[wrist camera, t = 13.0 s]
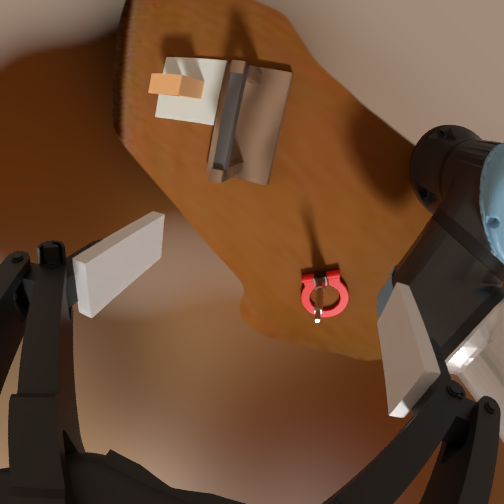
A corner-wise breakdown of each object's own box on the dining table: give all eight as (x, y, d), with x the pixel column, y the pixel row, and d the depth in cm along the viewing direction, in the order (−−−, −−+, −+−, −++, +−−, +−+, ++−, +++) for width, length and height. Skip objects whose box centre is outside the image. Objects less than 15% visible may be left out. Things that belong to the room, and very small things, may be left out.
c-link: (204, 81, 42) (182, 74, 35) (201, 99, 43) (178, 95, 36) (177, 79, 43) (151, 73, 36) (174, 96, 44) (148, 92, 37)
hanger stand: (293, 74, 39) (281, 57, 29) (268, 184, 47) (250, 200, 37) (230, 64, 41) (201, 48, 30) (209, 169, 48) (177, 182, 38)
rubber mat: (228, 61, 40) (226, 60, 40) (214, 125, 45) (213, 125, 45) (168, 57, 42) (166, 57, 41) (156, 116, 47) (155, 116, 46)
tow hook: (350, 310, 53) (344, 266, 49) (352, 360, 41) (347, 312, 38) (306, 316, 55) (296, 273, 52) (298, 365, 44) (286, 319, 41)
